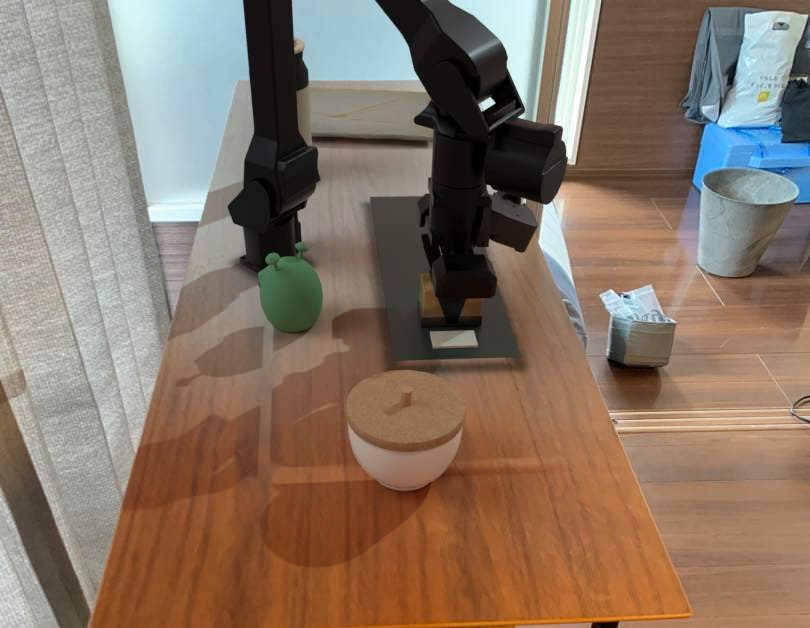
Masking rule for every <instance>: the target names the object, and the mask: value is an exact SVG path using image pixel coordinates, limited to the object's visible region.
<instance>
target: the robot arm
mask: <svg viewBox="0 0 810 628" xmlns="http://www.w3.org/2000/svg"><path fill="white" fill-rule="evenodd" d="M374 1H375V3H376V4H377V5H378V6H379V8H380V9H381V10H382V11H383V13H384V14H385V15H386V16H387V18H388V19H389V20H390V22H391V23H392V24H393V25H394V27H395V28H396V29H397V31H398V32H399V33H400V34H401V36H402V37H403V39H404V41H405V43H406V45H407V47H408V49H409V50H408V51H409V54H410V59H411V64H412V68H413V71H414V73H415V75H416V76H417V78H418V79H419V82H420V83H421V85H422V86H423V88H424V90H425V92H427V93H428V95H429V97H430V98H431V100H430V102H429V104H428V105H427V107H426V108H425V109H424V110H423V111H422V112H421V113H420V114H418V115H417V116H415V117H414V123H415V124H416V125H420V126H423V127H427V128H431V129H433V130H434V131H433V142H432V153H431V172H430V173H431V174H430V175H431V176H430V177H427V190H428V193H424V195H422V196H423V197H422V198H421V199H419V200H418V201H417V220H418V224H419V227H425V221H426V227H427V231H428V233H424V234H422V235H421V239H422V244H423V248H424V251H425V254H426V257H427V260H428V263H429V266H430V269H431V270H429V274H430V278H431V282H432V285H433V289H434V293H435V297H437V298H438V301H439V303H440V306H441V309H442V311H443V314H444V317H445V320H446V322H447V324H456V323H457V321H458V319H459V317H460V314H461V312H462V309H463V307H464V304H465V302H466V300H467V299H479V298H492V297H493V296H495V295H496V286H498V276H497V273H496V270H495V268H494V264H493V262H492V261H491V260H490V258H489V257H488V258H489V259H488V258H487V257H486V256H485V255H484V254H475V253H474V250H473V248H474V247H475V246H477V247H485V248H489V246H490V241H491V242H494V243H496V244H499V245H503V246H504V247H505V246H506V247H508V248H511V249H513V250H514V251H515V252H518V253H521V254H523V253H525V252H526V250H527V249H528V247H529V245H530V243H531V241H532V239H533V238H534V235H535V234H536V231H537V229H538V228H539V223H538V220H537V218H536V216H535V214H534V212H533V210H532V209H531V208H530V207H529V206H528V204H527V203H525V202H523V203H522V199H524V200H527V201H530V202H533V203H534V202H535V203H538V204H542V205H544V206H547V205H549V204H551V203H552V202H553V200H554V199H555V198H556V197H557V195H558V193H559V190H560V189H561V187H562V183H563V181H564V178H565V175H566V172H567V167H568V162H569V161H568V160H569V156H567V145H566V143H565V141H564V140H563V134H564V133H563V132H564V127H563V126H562V125H558V124H554V123H541V122H537V121H533V120H529V119H525V118H521V117H520V116H522V115H524V114H525V113H526V107H525V105H524V103H523V100H522V98H521V95H520V93H519V91H518V89H517V87H516V85H515V82H514V79H513V77H512V75H511V73H510V71H509V68H508V60H509V56H508V52H507V49H506V47H505V45H504V44H503V42H502V40H500V38H499V37H497V35H496V34H495V33H493V32H492V31H491V30H490V29H489V28H488V27H487V26H486V25H485V24H484V23H483V22H481V20H479V19H478V18H477V17H476V16H475V15H474V14H472V13H471V12H468V11H466V10H465V9H463V8H461V7H459V6H457V5H455V4H454V3H452V2H451V1H450V0H374ZM242 6H243V17H244V18H243V19H244V30H245V31H244V32H245V41H246V51H247V53H246V54H247V64H248V65H247V66H248V77H250V79H249V87H250V88H251V89H250V88H249V89H250V99H251V108H252V109H251V110H252V111H251V112H252V120H253V134H252V137H251V139H250V142H249V144H248V148H247V151H246V153H245V157H244V160H243V176H242V177H243V180H242V190H241V191H239V193H237V194H236V196H235V197H234V198H233V199H232V200H231V201H230V203H228V205H227V210H228V212H229V216H230V218H231V221H232V223H233V224H234V225H236V226H239V227H242V231H243V239H244V247H245V248H244V249H245V254H243V255H241V256H239V262H240V264H242V265H243V266H245V267H248V268H249V269H251V270H253V271H255V272H256V273H257V274H258V273H259V272H260V271H262V270H263V269H265V268H266V267H267V266H269V264H267V263H266V257H267V256H268V255H269V254H271V253H277V254H278V255H279V256H280V258H282V257H297V254H299V251H298V250H297V249H296V247H295V244H297V243H299V242H303V238H302V237H303V236H302V235H303V234H302V223H301V222H300V221H299V214H298V213H299V211H301V210H304V209H306V208H307V204H308V200H309V198H310V197H311V196H313V194H314V193H315V192H316V188H317V184H318V183H319V182H321V176H320V173H319V166H318V163H319V153H320V152H319V148H318V147H317V146H314V145H312V146H308V145H307V143H306V141H305V140H304V138H303V136H302V135H301V133H300V131H299V128H298V112H297V91H296V71H295V51H294V37H295V34H294V13H293V0H242ZM488 99H491V100H492V101H493V102H494V103H493V104H492V105H490V106H489V107H487V108H485V109H484V110H481V107H480V105H481V104H482V103H483V102H485V101H486V100H488ZM488 186H490V188H491V189H492V190H494V191H493V193H492V194H491V193H489V190H488ZM495 191H496V192H495Z"/></svg>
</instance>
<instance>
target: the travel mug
mask: <svg viewBox="0 0 810 628" xmlns="http://www.w3.org/2000/svg"><path fill="white" fill-rule="evenodd" d="M305 48H306V43H305V42H304V41H303V40H302V39H300V38H298V37H295V36H294V51H295V71H296V91H297V112H298V128H299V131H300V133H301V135H302V136H303V138H304V140H305V141H306V143H307V145H308V146H313V137H311V117H310V97H309V87H310V81H309V80H310V78H309V69H308V67H307V64H306V62H305V61H304V58H303V57H304V56H303V55H304V50H305ZM248 77H249V76H248ZM249 80H250V77H249ZM249 89H250V90H251V88H249Z"/></svg>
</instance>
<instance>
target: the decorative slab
mask: <svg viewBox="0 0 810 628" xmlns="http://www.w3.org/2000/svg"><path fill="white" fill-rule="evenodd" d="M309 97H310V117H311V137H312V138H346V139H347V138H348V139H363V140H364V139H365V140H401V141H402V140H403V141H425V142H431V143H433V131H434V130H433V129H431V128H427V127H423V126H420V125H416V124H415V123H414V117H415V116H417V115H418V114H420V113H421V112H422V111H423V110H424V109H425V108H426V107H427V105H428V104H429V102H430V100H431V98H430V97H429V95H428V93H427V92H426V91H410V90H406V91H405V90H386V89H377V90H376V89H355V88H353V89H352V88H351V89H350V88H328V87H327V88H325V87H323V88H322V87H312V86H309Z"/></svg>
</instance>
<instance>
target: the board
mask: <svg viewBox="0 0 810 628" xmlns="http://www.w3.org/2000/svg"><path fill="white" fill-rule="evenodd" d="M423 196H424V195H410V196H409V195H408V196H406V195H402V196H401V195H399V196H397V195H396V196H395V195H394V196H369V199H370V206H371V207H370V208H371V214H372V220H373V226H374V227H373V228H374V235H375V241H376V247H377V254H378V261H379V269H380V275H381V276H380V277H381V281H382V290H383V294H384V296H383V297H384V302H385V308H386V316H387V323H388V330H389V337H390V343H391V350H392V357H393V361H394V362H401V361H402V362H403V361H404V362H405V361H437V360H439V361H440V360H467V359H502V358H505V359H506V358H522V356H521V355H522V354H521V353H520V350H519V346H518V343H517V340H516V338H515V334H514V332H513V328H512V325H511V322H510V319H509V316H508V313H507V310H506V307H505V303H504V301H503V298H502V296H501V295H502V294H501V293H500V289H499V286H498V285H497V286H496V295H495V296H493V297H492V298H483V299H482V309H481V313H482V325H473V326H439V327H421V325H420V320H419V315H418V310H417V301H418V300H419V295H420V274H421V273H429V270H431V269H430V266H429V263H428V260H427V257H426V254H425V251H424V248H423V244H422V239H421V235H422V234H424V233H428V231H427V227H426V221H425V227H419V224H418V220H417V201H418V200H419V199H421V198H422V197H423ZM473 250H474V253H475V254H484V255H485V256H486V257H487V258H488V259H489V260H490V258H489V256H488V251H487V249H486V247H477V246H475V247H474V248H473ZM467 330H474V333H475V336H476V340H477V344H478V347H473V348H439V349H433V346H432V341H431V336H430V331H467Z"/></svg>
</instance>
